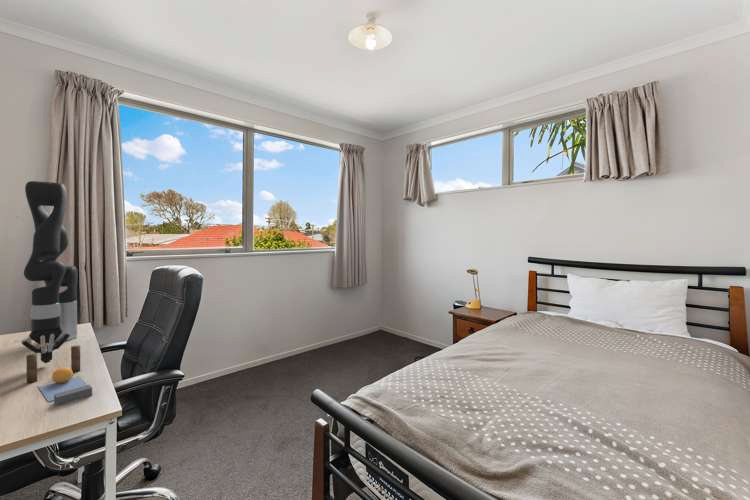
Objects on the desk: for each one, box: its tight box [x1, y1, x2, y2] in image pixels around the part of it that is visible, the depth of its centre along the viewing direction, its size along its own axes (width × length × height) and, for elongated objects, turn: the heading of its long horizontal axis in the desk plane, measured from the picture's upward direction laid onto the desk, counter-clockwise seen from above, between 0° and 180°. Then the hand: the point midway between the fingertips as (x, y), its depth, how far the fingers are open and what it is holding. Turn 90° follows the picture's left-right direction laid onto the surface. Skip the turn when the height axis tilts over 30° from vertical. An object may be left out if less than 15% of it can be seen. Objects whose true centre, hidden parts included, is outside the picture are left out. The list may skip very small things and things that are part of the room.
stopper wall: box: [53, 384, 93, 407], centre depth 98 cm, size 3×8×2 cm, turn 145°
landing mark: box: [38, 376, 88, 403], centre depth 104 cm, size 14×10×1 cm
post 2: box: [70, 344, 81, 374], centre depth 116 cm, size 2×2×9 cm
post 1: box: [25, 353, 38, 384], centre depth 107 cm, size 2×2×9 cm
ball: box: [51, 366, 74, 383], centre depth 108 cm, size 5×5×5 cm
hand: (46, 362), depth 119 cm, fingers closed
